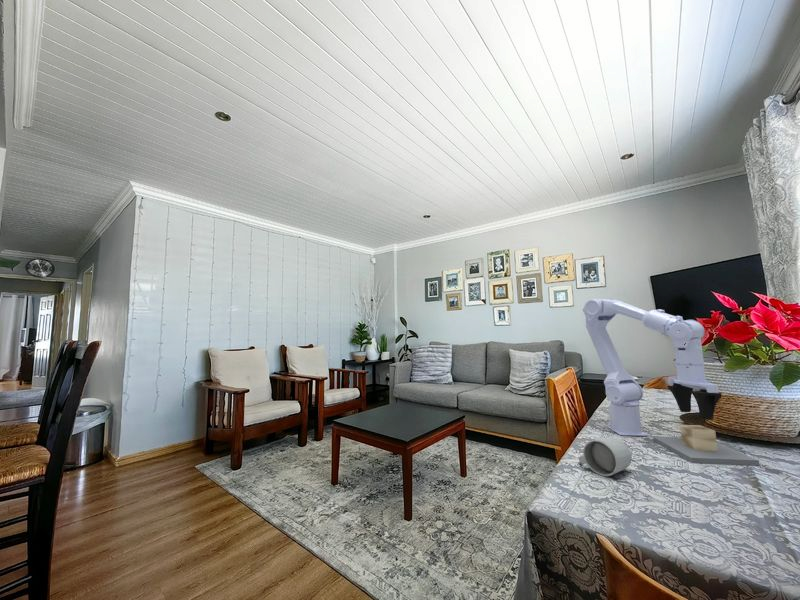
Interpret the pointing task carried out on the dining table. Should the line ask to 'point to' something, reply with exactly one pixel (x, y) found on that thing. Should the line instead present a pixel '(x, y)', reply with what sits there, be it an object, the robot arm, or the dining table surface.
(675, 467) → the dining table surface
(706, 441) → the maple block
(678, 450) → the slate board
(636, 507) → the dining table surface
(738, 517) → the dining table surface
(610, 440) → the ceramic mug
